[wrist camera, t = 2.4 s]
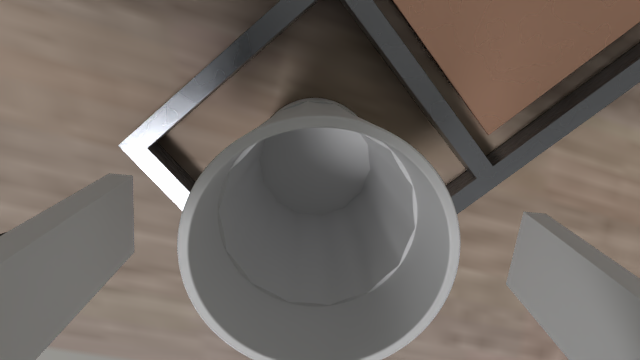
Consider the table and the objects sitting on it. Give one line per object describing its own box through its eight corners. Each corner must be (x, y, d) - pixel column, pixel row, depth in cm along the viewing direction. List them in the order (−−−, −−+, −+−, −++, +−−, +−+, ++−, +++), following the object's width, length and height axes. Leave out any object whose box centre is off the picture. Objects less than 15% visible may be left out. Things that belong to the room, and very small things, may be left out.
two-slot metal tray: (299, 313, 27) (298, 329, 25) (130, 139, 23) (118, 145, 22) (706, 15, 22) (734, 13, 21) (569, -253, 19) (591, -278, 17)
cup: (403, 98, 23) (497, 146, 11) (369, 234, 25) (419, 391, 14) (253, 68, 22) (194, 88, 11) (232, 211, 25) (163, 353, 13)
